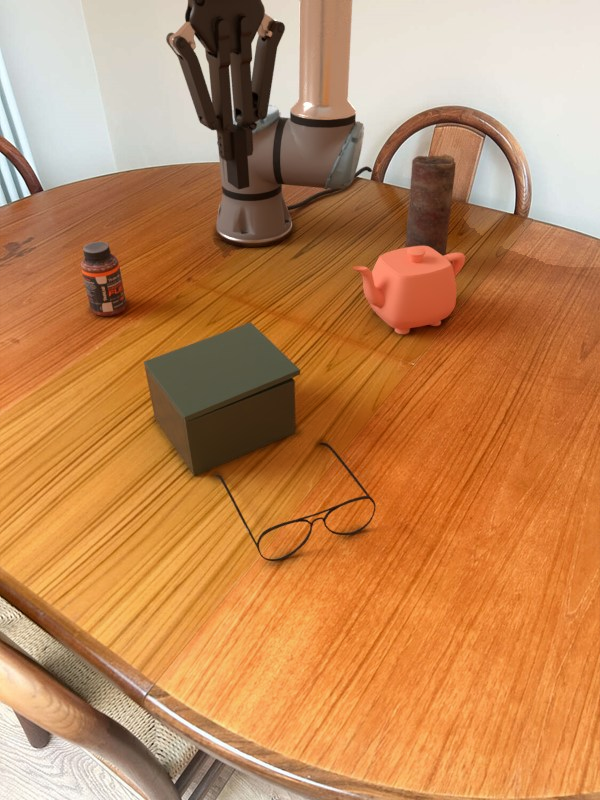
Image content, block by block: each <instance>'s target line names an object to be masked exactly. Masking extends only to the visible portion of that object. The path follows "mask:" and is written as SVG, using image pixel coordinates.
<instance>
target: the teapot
mask: <svg viewBox="0 0 600 800" xmlns="http://www.w3.org/2000/svg"><path fill="white" fill-rule="evenodd" d="M451 262H452V263H451ZM465 262H466V255H465V254H464V253H462V252H450V253H446V255H444V256H442V255H441V254H440V253H438V252H437V251H435V250H434V249H432V248H431V247H429V246H413V247H407V248H405V247H401V248H397V249H394V250H390V251H387V252H384V253H382V254H381V255H379V257H378V258H377V260H376V262H375V265H374V266H373V269H372V270H370V268H369V267H367V266H365V265H364V266H363V265H354V266H352V269H353V270H354V271H357V272H359V273H360V274H361V277H362V282H363V283H362V286H363V293H364V294H363V295H364V297H365V298H366V300H367V302H368V304H369V306H370V307H371V309H372V311H374V313H375V314H376V315H377V316H378V317H379V318H380V319H381V320H382V321H383V322H384V323H385V324H387V326H389V327H391V328H393V329H394V332H395V333H396V334H399V335H407V334H409V333H410V332H411V329H412V328H413V329H414V328H420V327H425V326H428V325H429V326H431V327H432V326H433V327H438V326H440V325H442V320H444V319H446V318H447V317H449V316H450V315H451V314H452V312H454V311H453V310H454V309H455V307H456V303H457V283H456V282H457V281H456V277H457V275H458V274H459V273H460V272H461V270H462V268H463V266H464V265H465Z"/></svg>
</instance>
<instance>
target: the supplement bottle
mask: <svg viewBox="0 0 600 800" xmlns="http://www.w3.org/2000/svg"><path fill="white" fill-rule="evenodd" d="M82 250H83V256H84V257H83V258H82V260H81V262H80V269H81V274H82V278H83V283H84V287H85V291H86V296H87V300H88V304H89V307H90V311H91V312H92V313H93V314H95V315H96V316H99V317H111V316H116V315H119V314H120V313H121V312H123V311H124V310H125V309H126V307H127V299H126V294H125V293H126V292H125V288H124V283H123V279H122V273H121V268H120V264H119V263H120V262H119V260H118V257H117V256H115V255H114V254H113V253H111V249H110V245H109V243H107V242H105V241H92V242H89V243H87V244H85V245H84V246H83V247H82Z"/></svg>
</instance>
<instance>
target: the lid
mask: <svg viewBox="0 0 600 800" xmlns="http://www.w3.org/2000/svg"><path fill="white" fill-rule="evenodd" d="M143 365H144V368H145V367H146V369H147V370H148V372H149V373H150V374H151V376H152V377H153V378H154V380H155V381H156V382H157V384H158V385H159V387H160V388H161V389H162V391H163V392H164V393H165V395H166V396H167V397H168V399H169V400H170V401H171V403H172V404H173V406H174V407H175V408H176V410H177V411H178V412H179V414H180V415H181V416H182V418H183V419H184V421H185V422H187V421H190V420H192V419H194V418H197V417H199V416H202V415H204V414H206V413H209V412H211V411H214V410H216V409H218V408H221V407H223V406H226V405H228V404H230V403H233V402H235V401H238V400H240V399H242V398H245V397H247V396H250V395H252V394H254V393H257V392H259V391H262V390H264V389H267V388H269V387H271V386H274V385H276V384H279V383H281V382H283V381H286V380H288V379H291V378H293V379H294V378H296V377H298V376H301V369H300V368H299V367H298V366H297V365H296V364H295V363H294V362H293V361H292V360H291V359H289V357H288V356H287V355H285V353H283V352H282V350H280V349H279V347H277V346H276V345H275V344H274V343H273V342H272V341H271V340H270V339H269V338H268V337H267V336H266V335H265V334H263V332H262V331H261V330H259V329H258V327H257V326H255V325H254V324H253V323H252V322H248V323H245V324H242V325H240V326H236V327H234V328H231V329H229V330H226V331H224V332H221V333H218V334H215V335H212V336H210V337H207V338H204V339H201V340H199V341H195V342H193V343H190V344H187V345H185V346H183V347H180V348H177V349H174V350H171V351H169V352H165V353H163V354H160V355H158V356H154V357H152V358H150V359H149V358H148V359H147V360H144V361H143Z"/></svg>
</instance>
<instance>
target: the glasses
mask: <svg viewBox="0 0 600 800" xmlns="http://www.w3.org/2000/svg"><path fill="white" fill-rule="evenodd" d="M319 444H320V445H321V446H325V447H327V449H329V450H330V452H331V453H332V454H333V455H334V456H335V457H336V458H337V459H338V461H339V462H340V463H341V465H342V466H343V467H344V469H345V470H346V471H347V472H348V474H349V475H350V476H351V478H352V479H353V480H354V481H355V483H356V484H357V485H358V486H359V488H360V489H361V491H362V492H363V493H364V494H365V495H361V496H358V497H354V498H351V499H349V500H346V501H343V502H341V503H338V504H336V505H334V506H332V507H329V508H327V509H324V510H322V511H318V512H315V513H313V514H309V515H307V516H306V515H305V516H303V517H299V518H297V519H291V520H288V521H285V522H282V523H278V524H276V525H273V526H271V527H269V528H267V529H265V530H263V532H261V533H260V535H259V537H258V539H257V541H256V539H255V538H254V535H253V533H252V531H251V529H250V527H249V526H248V523H247V522H246V520H245V518H244V516H243V514H242V512H241V509H240V508H239V506H238V504H237V502H236V500H235V498H234V496H233V494H232V492H231V491H230V489H229V487H228V485H227V483H226V481H225V480H224V478H223V477H222V476H221V475H220V474H215V477H216V478H218V479H219V480H220V482H221V483H222V485H223V487H224V489H225V490H226V492H227V495H228V496H229V498H230V500H231V503H232V504H233V506H234V508H235V509H236V512H237V513H238V515H239V518H240V520H241V521H242V523H243V525H244V527H245V529H246V532H247V533H248V535H249V536H250V538H251V540H252V541H253V543H254V545H255V547H256V549H257V551H258V553H259V555H260V557H261V558H262V559H264V560H266V561H268V562H280V561H283V560H286V559H287V558H289V557H291V556H292V555H294V554H295V553H296V552H298V551H299V550H300V549H301V548H302V547H303V546H304V545H305V544H306V543H307V542H308V541H309V539H310V537H311V534H312V531H313V526H314V523H315V522H317V521H319V520H322V522H323V525H324V527H325V528H326V529H327V530H328V532H330V533H332V534H334V535H338V536H351V535H355V534H357V533H359V532H361V531H363V530H364V529H365V528H366V527H368V525H370V523H371V522H372V520H373V519H374V515H375V512H376V502H375V500H374V498H372V497H371V496H370V494H369V493H368V492H367V490H366V489H365V488H364V486H363V485H362V484H361V482H360V481H359V479H358V478H357V476H355V474H354V473H353V471H351V469H350V468H349V467H348V465H347V464H346V463H345V461H344V460H343V459H342V457H341V456H340V455H339V454H338V453H337V451H336V449H334V448H333V447H332V446H331V445H330V444H328V443H327V442H319ZM361 500H369V501H370V502H371V503H372V504H373V511H372V514H371V517H370V518H369V520H368V521H367V522H366V523H365V524H364V525H363V526H361V527H360V528H358V529H356V530H354V531H350V532H339V531H334V530H332V529H330V527H329V526H327V523H326V520H327V519H328V517H329V516H330V515H331V514H332V513H333V512H334V511H335V510H337V509H339V508H341V507H344V506H346V505H348V504H351V503H354V502H357V501H361ZM323 513H326V514H325V515H324V517H317V518H314V519H313V520H312V521H310V520H309V518H312V517H316V516H318V515H321V514H323ZM294 523H295V524H296V523H307V524H309V530H308V532H307V534H306V536H305V538H304V539H303V541H302V542H301V543H300V544H299V545H297V547H296V548H294V549H293V551H290V552H289V553H288V554H286V555H284V556H282V557H279V558H268V557H265V556H263V554H262V553H261V550H260V549H261V548H260V543H261V541H262V538H263V537H265V535H267V534H269V533H270V532H272V531H274V530H277V529H279V528H282V527H285V526H287V525H291V524H294Z"/></svg>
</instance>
